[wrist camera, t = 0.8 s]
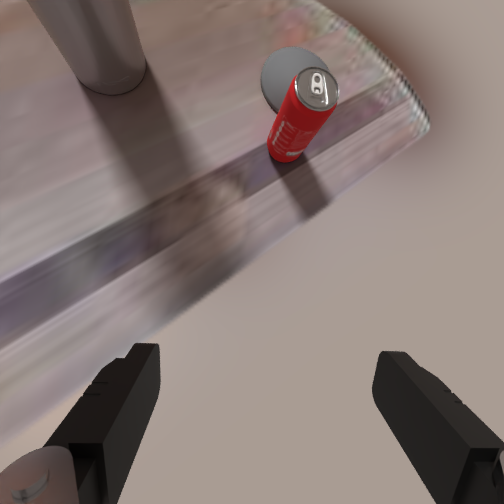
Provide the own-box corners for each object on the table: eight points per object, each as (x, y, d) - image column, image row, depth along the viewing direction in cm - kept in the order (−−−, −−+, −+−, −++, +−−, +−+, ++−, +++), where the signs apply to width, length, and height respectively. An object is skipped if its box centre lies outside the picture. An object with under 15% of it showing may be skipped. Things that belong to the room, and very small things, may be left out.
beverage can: (264, 163, 36) (291, 108, 24) (265, 128, 37) (292, 59, 25) (299, 167, 37) (341, 116, 25) (300, 133, 38) (341, 68, 26)
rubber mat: (251, 55, 38) (252, 51, 37) (318, 47, 40) (321, 42, 39) (272, 126, 37) (274, 122, 36) (339, 113, 39) (342, 110, 38)
